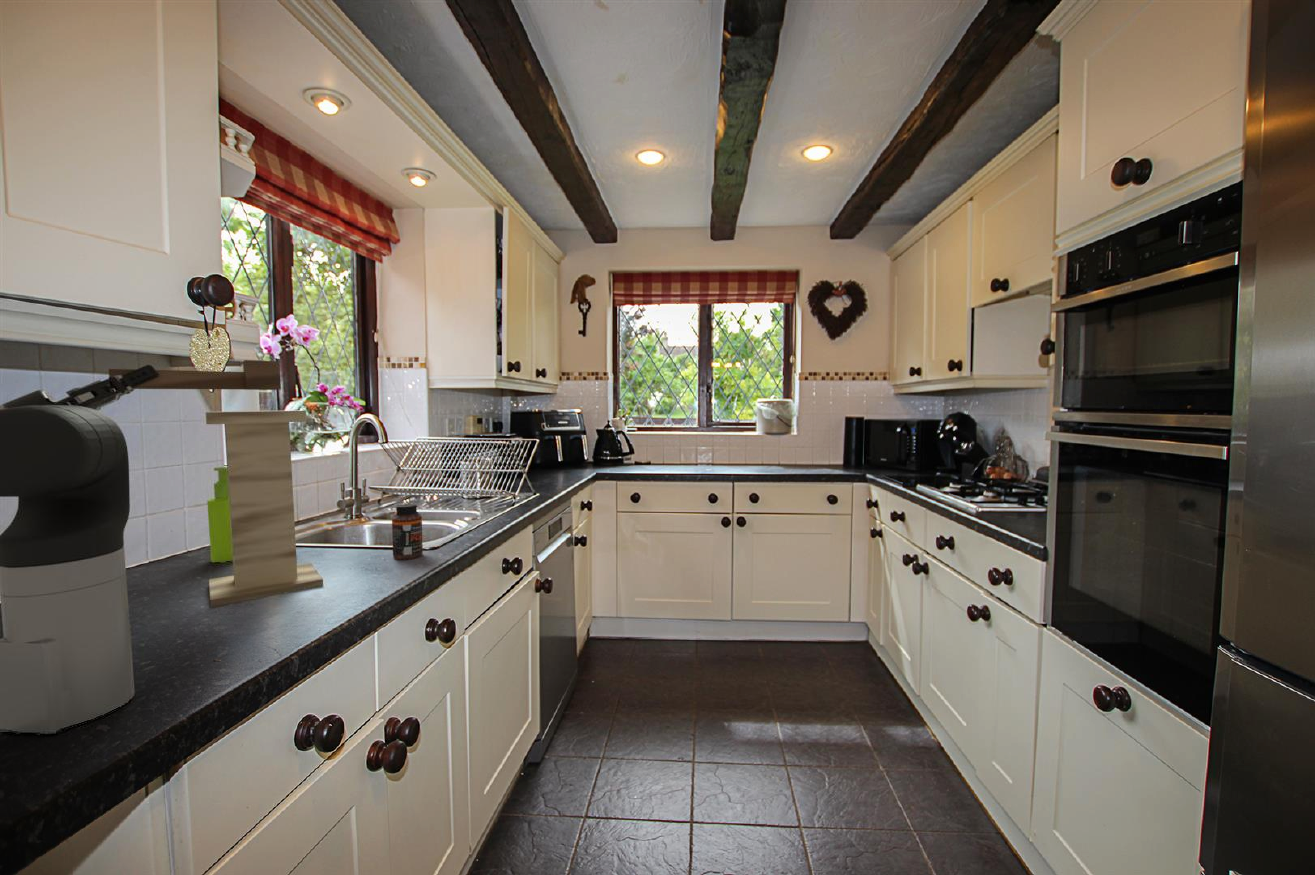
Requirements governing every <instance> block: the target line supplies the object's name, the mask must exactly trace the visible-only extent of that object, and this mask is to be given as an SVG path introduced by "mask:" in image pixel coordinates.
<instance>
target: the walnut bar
mask: <svg viewBox="0 0 1315 875" xmlns="http://www.w3.org/2000/svg"><path fill="white" fill-rule="evenodd" d="M242 369H243V371H224V370H223V371H216V370H215V371H213V370H178V369H177V370H174V369H173V370H171V369H169V370H168V369H159V370H158V369H155V370H156V372H157V373H158V374H159V376H158V377H157V378H155V379H152V380H150V381H148V382H145V383H143V384H141V385H138V386H136V387H133V386H132V385H131V386H132V387H133V389H135V390H244V391H245V390H246V391H248V390H249V391H253V390H254V391H255V390H256V391H257V390H258V391H260V390H261V391H263V390H265V391H277V390H278V391H279V390H281V389H282V387H281V386H282V384H281V368H280V361H279V360H253V359H244V360H243V361H242ZM134 370H135V369H131V368H128V369H127V368H126V369H124V368H122V369H121V368H108V378H109V377H114V376H117V375H122V376H123V377H124V374H127V373H129V372H132V371H134ZM110 388H111V389H114V388H113V387H112V386H111V385H110ZM114 390H115V389H114Z"/></svg>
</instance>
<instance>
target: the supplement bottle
mask: <svg viewBox="0 0 1315 875" xmlns="http://www.w3.org/2000/svg"><path fill="white" fill-rule="evenodd" d="M395 509H396V510H395V511H396V514H395V515H393V516H392V517H391V532H392V539H391V540H392V558H394V559H396V558H397V559H396V560H410V558H412V559H415V558H418V557H421V556H422V555H423V552H424V551H423V550H424V549H423V520H422V519H423V518H422V514H420V513H419V512H418V507H417V504H416V503H403V504H402V503H401V504H396V508H395Z"/></svg>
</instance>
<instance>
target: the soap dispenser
mask: <svg viewBox="0 0 1315 875" xmlns="http://www.w3.org/2000/svg"><path fill="white" fill-rule="evenodd" d="M213 470H214V472H215V471H217V475H218V481H216V482H214V483H213V491H214V494H213V495H214V497H213V498H210V499H207V517H208V518H207V520H208V531H209V532H208V533H209V547H210V561H211V563H215V562H220V563H227V562H226V561H230V562H233V557H232V540H231V524H230V508H229V491H228V475H227V466H222V467H214V468H213Z"/></svg>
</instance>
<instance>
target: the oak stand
mask: <svg viewBox="0 0 1315 875" xmlns="http://www.w3.org/2000/svg"><path fill="white" fill-rule="evenodd" d="M290 423H307V410H300V409H299V410H295V409H294V410H243V411H241V410H240V411H239V410H238V411H236V410H234V411H233V410H232V411H228V410H227V411H226V410H225V411H205V424H206V425H224V426H223V427H224V438H225V439H224V440H225V453H226V454H225V456H226V467H227V475H228V491H229V508H230V524H231V540H232V557H233V561H232V571H233V572H232V573H233V575H227V576H222V577H215V578H210V579H208V581H209V582H208V583H209V584H208V585H209V586H208V588H209V600H210V601H209V602H210V607H211V608H213V607H219V606H223V605H228V604H229V605H230V604H234V603H240V602H246V601H250V600H254V599H259V598H266V597H269V596H275V595H281V593H282V594H285V592H287V593H292V592H296V591H300V590H299V589H303V590H305V589H304V588H308V589H312V587H313V588H317V587H316V586H318V587H322V586H321V585H323V586H324V578H323V577H322V576H321V575H320V573H319V572H318V570H317V569H316V567H315V566H314V564H312V562H310V561H309V562H305V563H299V564H298V563H297V560H298V559H297V547H296V545H297V542H296V526H295V525H296V523H295V509H294V508H295V507H294V505H295V504H294V486H293V471H292V470H293V469H292V468H293V467H292V453H291V433H290V432H291V431H290V429H291V428H290ZM265 596H266V597H265Z"/></svg>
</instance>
